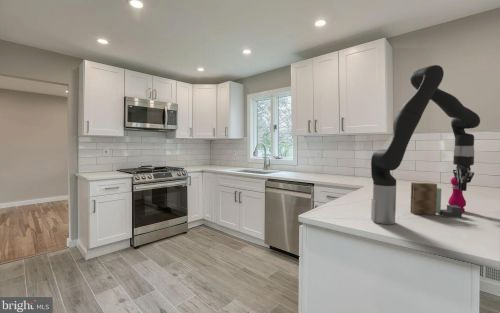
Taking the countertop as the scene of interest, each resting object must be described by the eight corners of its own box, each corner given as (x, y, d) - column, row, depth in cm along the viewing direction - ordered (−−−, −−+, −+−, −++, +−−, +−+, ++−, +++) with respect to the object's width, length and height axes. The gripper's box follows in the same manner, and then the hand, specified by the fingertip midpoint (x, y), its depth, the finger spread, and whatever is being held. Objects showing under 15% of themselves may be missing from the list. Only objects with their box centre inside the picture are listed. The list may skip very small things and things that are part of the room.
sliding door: (413, 211, 124) (414, 187, 123) (412, 210, 125) (413, 187, 124) (440, 213, 120) (441, 188, 120) (439, 212, 122) (440, 188, 121)
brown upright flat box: (413, 214, 123) (414, 183, 122) (410, 212, 126) (411, 182, 125) (435, 215, 120) (437, 184, 119) (432, 213, 123) (433, 183, 123)
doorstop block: (442, 216, 119) (442, 206, 118) (437, 213, 123) (437, 204, 123) (461, 218, 117) (462, 207, 116) (455, 215, 121) (456, 205, 121)
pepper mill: (465, 210, 129) (467, 173, 128) (465, 213, 123) (467, 175, 122) (448, 208, 134) (449, 172, 133) (447, 211, 128) (449, 173, 127)
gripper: (447, 154, 125) (445, 187, 126) (462, 155, 112) (461, 192, 113) (464, 154, 123) (463, 188, 124) (482, 156, 110) (480, 193, 111)
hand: (462, 190), depth 118 cm, fingers closed
